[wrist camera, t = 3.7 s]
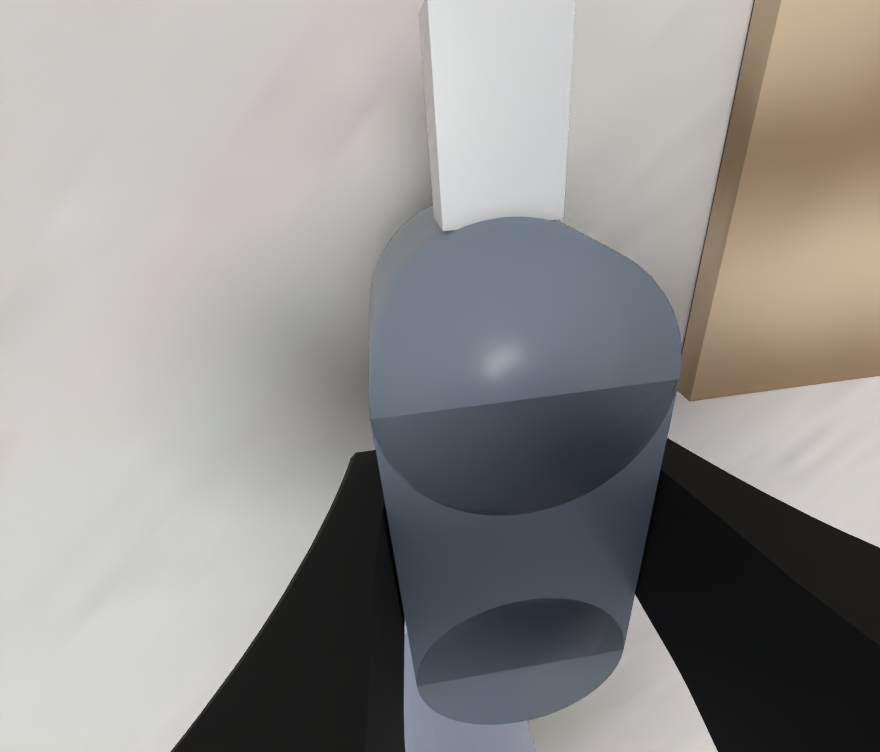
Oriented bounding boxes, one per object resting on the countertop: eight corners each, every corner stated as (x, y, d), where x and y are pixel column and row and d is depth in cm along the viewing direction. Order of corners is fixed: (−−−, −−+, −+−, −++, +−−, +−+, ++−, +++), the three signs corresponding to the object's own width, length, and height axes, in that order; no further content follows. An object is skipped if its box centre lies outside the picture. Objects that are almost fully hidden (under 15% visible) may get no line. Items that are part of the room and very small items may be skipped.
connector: (555, 568, 13) (612, 705, 10) (412, 590, 13) (425, 739, 10) (596, 18, 7) (769, -61, 4) (328, 36, 7) (291, -36, 4)
